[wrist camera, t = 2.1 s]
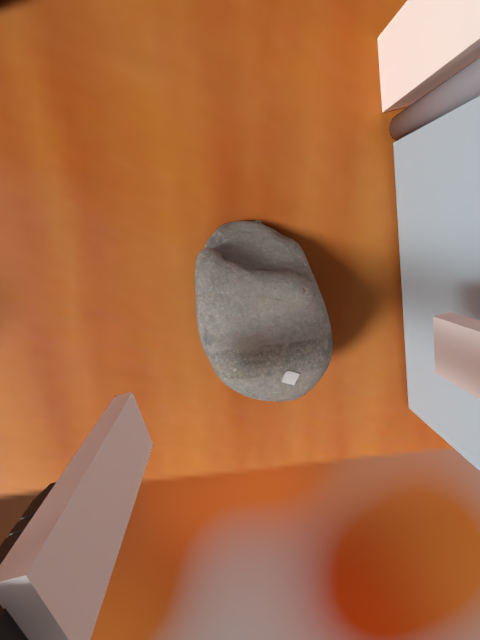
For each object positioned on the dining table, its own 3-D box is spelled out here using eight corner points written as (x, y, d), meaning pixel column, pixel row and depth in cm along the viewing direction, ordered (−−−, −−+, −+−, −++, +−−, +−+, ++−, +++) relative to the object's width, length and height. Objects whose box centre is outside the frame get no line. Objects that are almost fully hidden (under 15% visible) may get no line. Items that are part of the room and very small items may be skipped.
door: (388, 115, 18) (532, 12, 10) (427, 106, 18) (603, -5, 10) (406, 408, 24) (500, 492, 16) (434, 401, 25) (542, 482, 16)
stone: (326, 224, 20) (381, 320, 13) (295, 314, 26) (320, 413, 19) (202, 212, 19) (183, 307, 12) (200, 308, 25) (187, 409, 18)
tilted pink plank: (377, 38, 17) (584, -221, 7) (405, 31, 17) (647, -236, 7) (382, 112, 18) (565, -28, 9) (408, 106, 18) (621, -41, 9)
